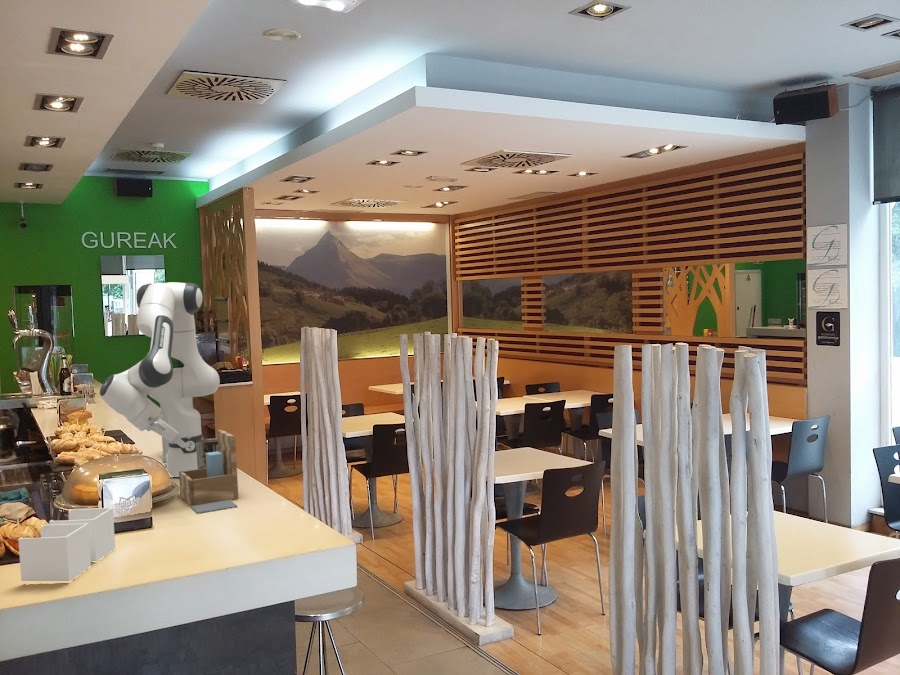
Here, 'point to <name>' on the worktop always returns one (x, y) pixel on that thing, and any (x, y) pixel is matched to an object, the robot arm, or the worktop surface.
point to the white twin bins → (67, 545)
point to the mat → (213, 506)
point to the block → (214, 464)
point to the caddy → (212, 488)
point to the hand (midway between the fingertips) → (181, 443)
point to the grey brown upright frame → (205, 450)
